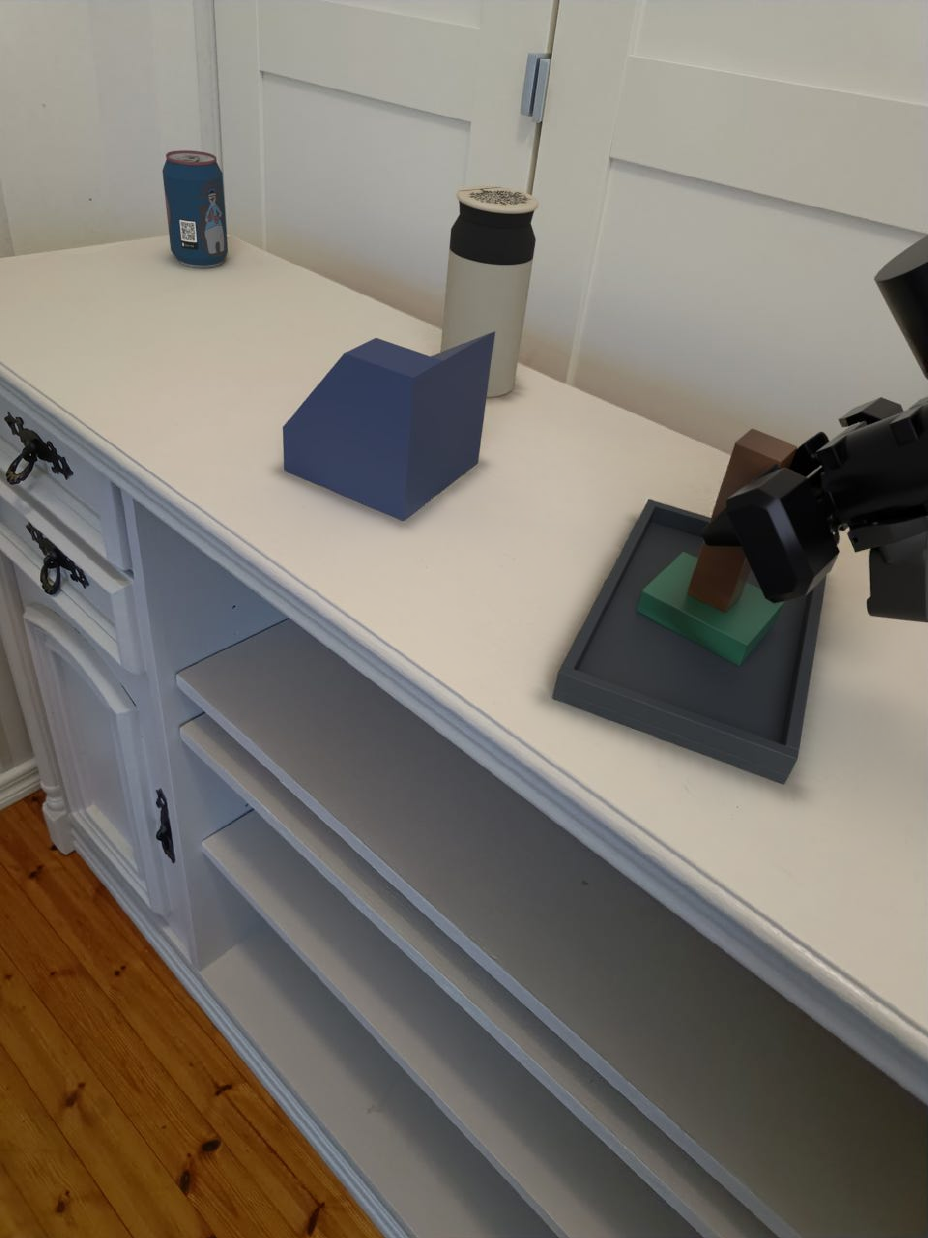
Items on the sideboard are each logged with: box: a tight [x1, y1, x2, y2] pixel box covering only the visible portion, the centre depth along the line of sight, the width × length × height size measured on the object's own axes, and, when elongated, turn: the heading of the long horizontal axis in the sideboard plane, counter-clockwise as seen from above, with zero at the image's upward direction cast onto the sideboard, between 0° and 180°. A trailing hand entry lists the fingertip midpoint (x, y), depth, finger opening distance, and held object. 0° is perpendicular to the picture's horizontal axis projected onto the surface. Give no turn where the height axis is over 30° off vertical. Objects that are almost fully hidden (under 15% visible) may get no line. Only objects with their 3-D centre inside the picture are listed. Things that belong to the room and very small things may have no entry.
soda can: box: [162, 149, 229, 269], centre depth 104 cm, size 7×7×12 cm
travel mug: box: [439, 185, 539, 398], centre depth 83 cm, size 8×8×18 cm
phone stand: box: [282, 331, 495, 522], centre depth 70 cm, size 12×12×12 cm
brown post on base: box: [637, 428, 798, 666], centre depth 55 cm, size 8×6×14 cm
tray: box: [551, 498, 828, 785], centre depth 60 cm, size 24×15×2 cm, turn 157°
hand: (714, 530), depth 56 cm, fingers closed on brown post on base, 2 cm apart
